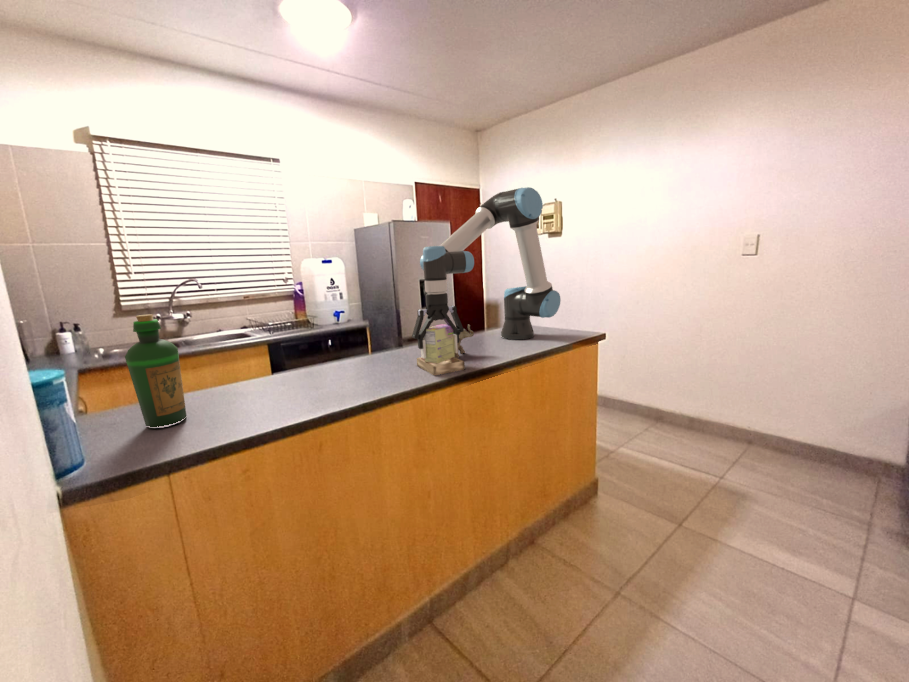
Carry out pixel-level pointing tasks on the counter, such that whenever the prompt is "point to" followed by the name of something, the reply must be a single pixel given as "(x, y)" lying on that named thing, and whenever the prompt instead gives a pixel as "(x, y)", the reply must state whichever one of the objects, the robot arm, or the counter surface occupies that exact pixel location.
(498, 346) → the counter surface
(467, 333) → the figurine
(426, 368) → the tray
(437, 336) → the box
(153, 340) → the bottle
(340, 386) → the counter surface
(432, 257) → the robot arm
